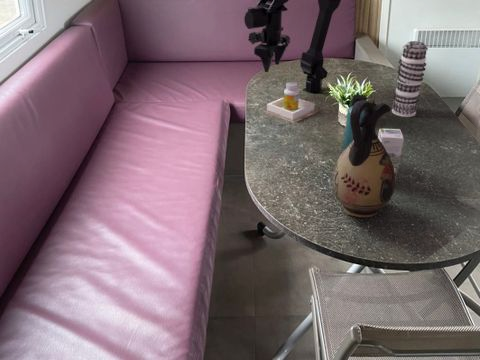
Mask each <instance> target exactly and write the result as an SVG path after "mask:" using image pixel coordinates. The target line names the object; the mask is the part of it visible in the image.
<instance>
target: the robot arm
mask: <svg viewBox="0 0 480 360" xmlns="http://www.w3.org/2000/svg"><path fill="white" fill-rule="evenodd" d="M289 1H290V0H258V2H257V4H256V6H255V7H248V8H247V12H245V14H244V17H243V19H244V25H245V27H246V28H247V29H249V30H253V29H258V28H262V29H261V30H260V31H257V32H256V31H253V32H249V33H248V39H247V40H248V41H249V42H250V43H251V45H255V44H257V43H259V44H258V45H256V46H255V47H254V48H253V55H255V56H256V57H259V58H260V60H261V63H262V67H263V69H264V72H265V73H269V72H270V71H269V70H270V68H271V67H272V62H273V59H274V63H275V65H277V66H278V65H279V64H280V62H281V59H282V58H283V56H284V54H285V52H286V51H287V48H288V47H289V44H291V37H290V36H289V34H288V35H287V34H282V31H284V27H283V26H282V22H283V21H282V19H283V12H286V11H288V8H287V7H286V6H285V4H287V3H288V2H289ZM317 2H318V8H319V10H318V15H317V19H316V23H315V25H314V29H313V34H312V38H311V40H310V44H309V48H308V49H307V51H306V52H304V51H303V52H302V53H301V59H300V60H299V63H300V68H301V70H302V72H303V74H304V75H306V80H305V88H302V91H304V92H308V93H310V94H313V95H316V94H320V93H322V92H325V90H326V89H325V88H323V87H322V86H323V80H324V79H326V78H327V76H328V71H327V69H325V68H324V61H325V59H324V55H323V50H324V46H325V42H326V40H327V39H326V38H327V34H328V32H329V27H330V24H331V21H332V17H333V13H334V12H335V11H336V10H337V9H338V8H339V6H340V4H341V2H342V0H317Z"/></svg>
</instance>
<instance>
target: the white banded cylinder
mask: <svg viewBox="0 0 480 360" xmlns="http://www.w3.org/2000/svg"><path fill="white" fill-rule="evenodd" d="M402 48H403V50H402V55H401V58H400V59H399V60H398V64H399V65H398V66H397V68H398V69H397V77H396V82H397V84H396V85H397V86H396V88H395V92H394V93H393V94H394V96H393V101H392V105H391V107H392V109H391V112H392V114H394V115H395V116H398V117H402V118H403V117H404V118H409V117H414V116H416V115H417V110H418V108H417V107H418V106H419V104H418V103H419V101H420V100H419V98H420V87H421V84H423V80H424V78H423V77H424V76H425V73H424V71H426V66H427V63H426V59H427V57H426V55H427V51H428V50H429V48H428V47H426V43H424V42H422V41H415V40H414V41H408V42H407V43H406V44H404V45H403V46H402Z"/></svg>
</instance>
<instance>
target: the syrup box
mask: <svg viewBox="0 0 480 360" xmlns="http://www.w3.org/2000/svg"><path fill="white" fill-rule="evenodd" d="M377 136H378V138H379V140H380V141H381V143H382V144H383V146H384V147H385V149H386V151H387V153H388V155H389V157H390V159H391V161H392V164H393V167H394V172H395V182H396V180H397V174H398V171H399V164H400V161H401V154H402V150H403V145H404V135H403V132H402V131H401V129H400V128H379V130H378V135H377Z"/></svg>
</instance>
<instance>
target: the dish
mask: <svg viewBox="0 0 480 360" xmlns="http://www.w3.org/2000/svg"><path fill="white" fill-rule="evenodd" d="M283 100H284V96H283V97H281V98H279V99H276V100H273V101H271V102H269V103H267V104H266V110H267V112H268V113H267V114H269V113H271V114H274V115H276V116H275V117H277V116H279V117H282V118H284V119H283V120H285V119H287V120H290V121H292V122H293V121H295V120H297V119H299V118H302V117H304V116H306V115H308V114H310V113H312V112H314V110H315V103H314V102H311V101H307V100H306V99H305V100H304V99H302V98H299V102H298V110H296V111H294V112H291V111H289V110H286V109H283ZM271 114H270V115H271ZM274 115H273V116H274ZM279 117H278V118H279ZM282 118H281V119H282ZM287 120H286V121H287ZM290 121H289V122H290ZM292 122H291V123H292Z"/></svg>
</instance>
